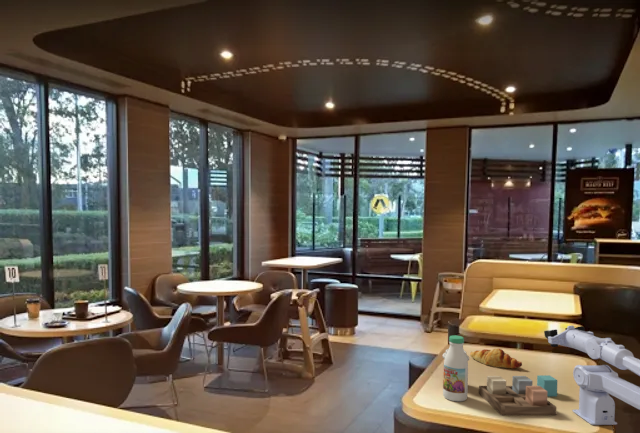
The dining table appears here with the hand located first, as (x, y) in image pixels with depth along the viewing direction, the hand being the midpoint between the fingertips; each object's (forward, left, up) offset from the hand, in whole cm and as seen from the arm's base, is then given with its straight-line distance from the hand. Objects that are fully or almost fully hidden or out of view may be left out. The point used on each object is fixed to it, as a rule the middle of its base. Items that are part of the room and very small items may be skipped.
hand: (556, 332), depth 160 cm
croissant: (+29, +8, -21) cm, 37 cm away
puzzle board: (-10, +19, -21) cm, 29 cm away
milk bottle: (-5, +37, -21) cm, 42 cm away
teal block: (-2, +4, -21) cm, 21 cm away
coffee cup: (+6, +33, -21) cm, 39 cm away
